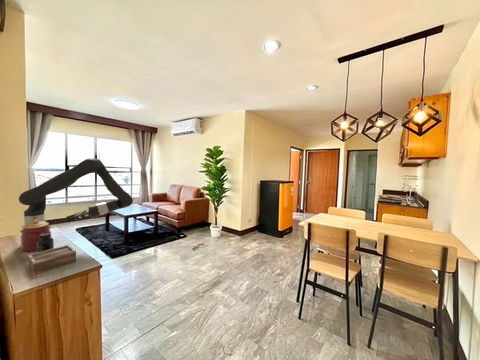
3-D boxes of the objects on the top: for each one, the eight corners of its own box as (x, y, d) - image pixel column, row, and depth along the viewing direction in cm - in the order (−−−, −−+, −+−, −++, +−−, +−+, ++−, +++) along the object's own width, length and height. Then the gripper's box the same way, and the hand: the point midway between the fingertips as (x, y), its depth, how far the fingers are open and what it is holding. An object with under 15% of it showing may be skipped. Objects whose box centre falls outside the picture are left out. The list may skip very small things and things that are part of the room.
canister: (43, 251, 117) (42, 222, 116) (14, 253, 113) (13, 223, 112) (56, 242, 129) (55, 216, 128) (30, 244, 125) (29, 216, 124)
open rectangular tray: (28, 265, 101) (28, 254, 101) (69, 254, 114) (68, 244, 114) (33, 274, 94) (33, 262, 94) (76, 261, 107) (75, 250, 107)
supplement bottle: (56, 253, 115) (56, 233, 114) (41, 259, 109) (41, 237, 108) (49, 251, 117) (48, 231, 116) (34, 256, 111) (33, 235, 110)
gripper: (95, 203, 133) (64, 212, 123) (98, 205, 122) (63, 215, 112) (99, 213, 134) (68, 223, 124) (101, 216, 124) (68, 227, 113)
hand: (66, 219), depth 118 cm, fingers open, 8 cm apart
